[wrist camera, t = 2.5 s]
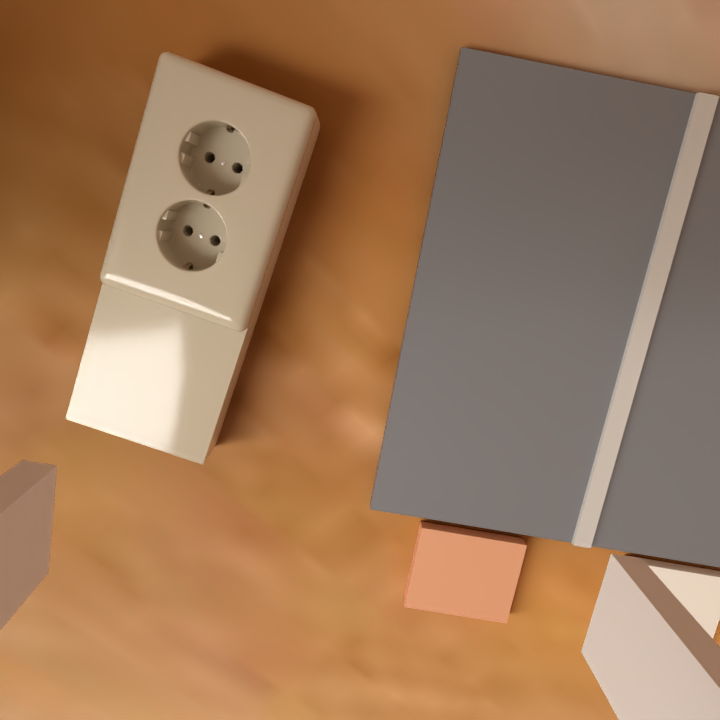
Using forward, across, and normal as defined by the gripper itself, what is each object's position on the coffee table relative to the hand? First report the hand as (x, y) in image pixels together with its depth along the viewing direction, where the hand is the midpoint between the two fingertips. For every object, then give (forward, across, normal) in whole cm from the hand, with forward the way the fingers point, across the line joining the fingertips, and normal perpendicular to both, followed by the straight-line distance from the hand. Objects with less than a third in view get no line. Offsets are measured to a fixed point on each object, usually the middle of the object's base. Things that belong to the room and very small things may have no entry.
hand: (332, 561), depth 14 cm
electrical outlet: (+20, -8, +4) cm, 22 cm away
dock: (+18, +15, +2) cm, 24 cm away
